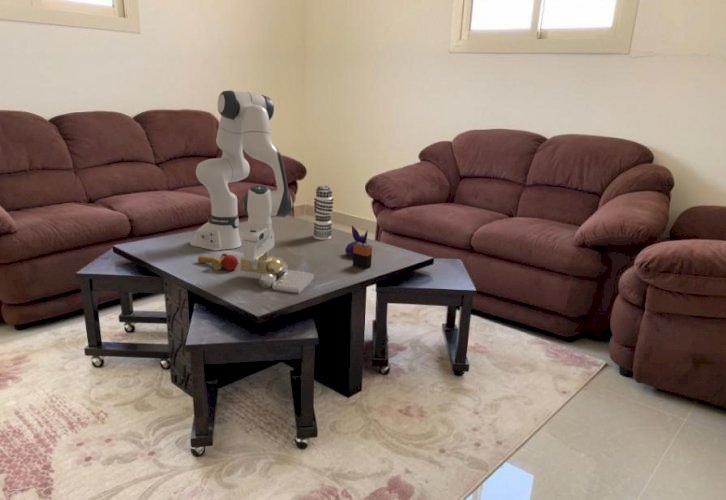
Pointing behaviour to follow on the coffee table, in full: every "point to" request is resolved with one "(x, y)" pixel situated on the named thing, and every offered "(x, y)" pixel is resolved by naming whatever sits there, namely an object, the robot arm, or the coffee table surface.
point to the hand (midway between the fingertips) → (259, 265)
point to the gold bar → (263, 265)
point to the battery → (362, 255)
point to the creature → (355, 241)
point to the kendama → (220, 261)
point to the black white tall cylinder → (323, 212)
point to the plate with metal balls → (286, 280)
